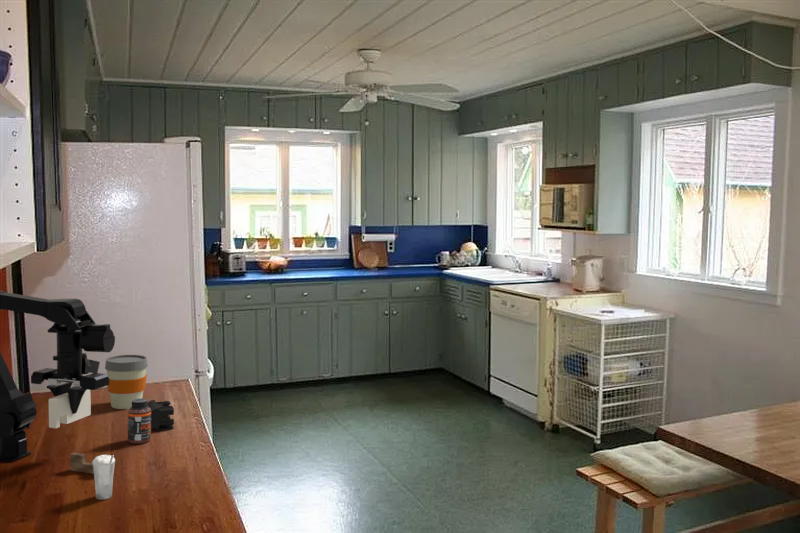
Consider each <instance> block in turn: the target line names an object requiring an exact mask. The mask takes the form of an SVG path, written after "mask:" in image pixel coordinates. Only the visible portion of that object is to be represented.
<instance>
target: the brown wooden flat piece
mask: <svg viewBox="0 0 800 533" xmlns="http://www.w3.org/2000/svg"><path fill="white" fill-rule="evenodd" d="M98 456H99V455H95V456H94V458H93V460H94V459H95V458H96V457H98ZM69 460H70V467H69V468H70V471H72V472H80V473H87V474H92V475H94V472H93V464H92V462H86V453H80V452H72V453H70V458H69Z"/></svg>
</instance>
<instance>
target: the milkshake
mask: <svg viewBox="0 0 800 533" xmlns="http://www.w3.org/2000/svg"><path fill="white" fill-rule="evenodd" d="M97 456H98V457H96V456H95V457H96V458H95V459H94V458H93V460H92V462H91V463H92V464H93V472H94V474H93V478H94V479H93V480H94V489H95V499H96V500H101V501H102V500H108V499H110V498H112V496H113V487H114V486H113V485H114V484H113V482H114V473H115V464H116V458H115V457H114V454H112V455H110V454H101V455H97Z"/></svg>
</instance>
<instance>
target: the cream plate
mask: <svg viewBox="0 0 800 533" xmlns="http://www.w3.org/2000/svg"><path fill="white" fill-rule="evenodd" d="M91 401H92V400H91V390H86V391H85V393H84V395H83V397H82V399H81V402H80V405H79V407H78V410H77V413H75V414H72V411H71V407H70V402H69V396H68V393H65V394H62V395H59V396H56V397H55V396H53V397H50V398H49V399H48V428H51V429H58V428H60V426H61V424H66V425H68V424H70V423H74V422H76V421H78V420H79V421H80V419H85V417H88V416H91V414H92V411H91V410H92V409H91Z"/></svg>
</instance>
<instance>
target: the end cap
mask: <svg viewBox="0 0 800 533" xmlns="http://www.w3.org/2000/svg"><path fill="white" fill-rule="evenodd" d="M147 403H148V404H147V405H148V407H150V409H151V429H153V430H155V431H157V432H159V431H160V432H163V431H171V430H172V431H173V430H174V424H175V419H174V418H171V417H170V416H174V415H175V408H174V407H173V405H172V404H171V402H170V401H169V400H164V401H156V400H155V399H151V400H149V401H147Z"/></svg>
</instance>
